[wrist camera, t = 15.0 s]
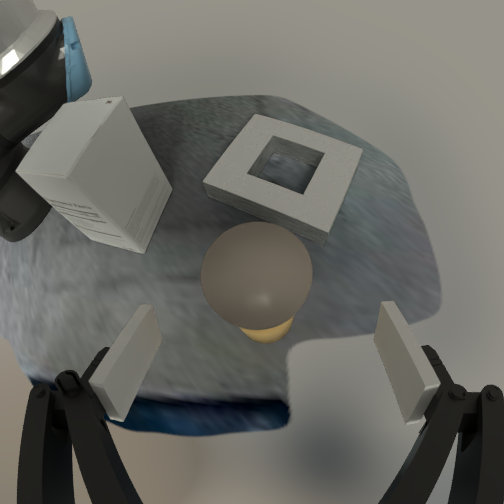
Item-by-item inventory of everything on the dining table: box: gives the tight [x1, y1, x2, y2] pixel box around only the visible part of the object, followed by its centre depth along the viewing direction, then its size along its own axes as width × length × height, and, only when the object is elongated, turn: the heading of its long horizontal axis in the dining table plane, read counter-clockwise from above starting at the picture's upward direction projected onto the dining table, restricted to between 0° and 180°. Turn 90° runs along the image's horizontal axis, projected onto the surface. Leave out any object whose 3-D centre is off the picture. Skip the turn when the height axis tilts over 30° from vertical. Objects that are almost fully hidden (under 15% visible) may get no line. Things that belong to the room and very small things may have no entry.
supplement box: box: [16, 96, 173, 254], centre depth 26 cm, size 9×9×15 cm
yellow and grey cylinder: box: [201, 222, 313, 343], centre depth 21 cm, size 6×6×13 cm
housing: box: [203, 114, 363, 246], centre depth 31 cm, size 14×12×3 cm
